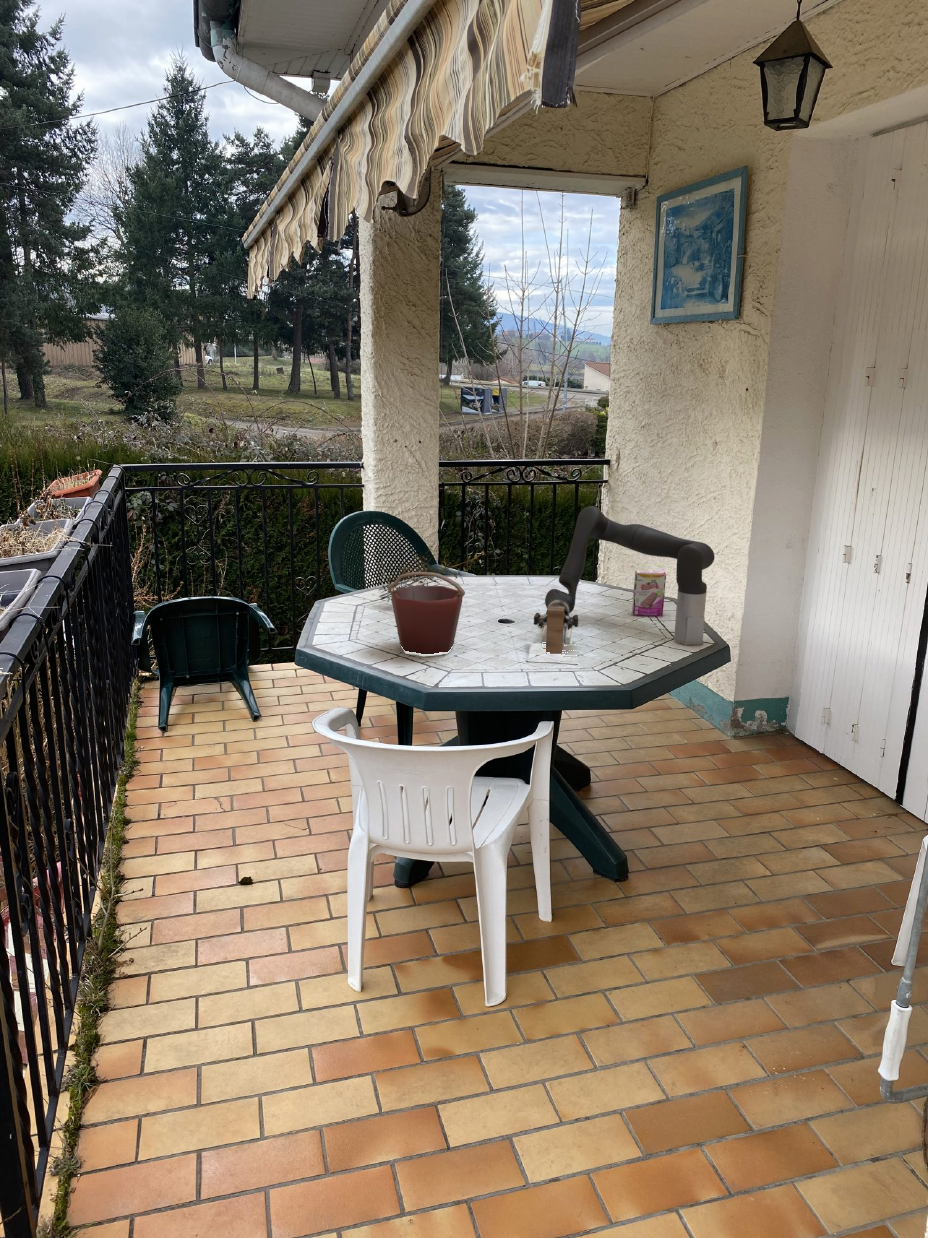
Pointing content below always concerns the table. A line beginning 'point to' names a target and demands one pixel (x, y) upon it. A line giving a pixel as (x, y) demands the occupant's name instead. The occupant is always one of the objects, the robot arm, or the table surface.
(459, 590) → the bucket
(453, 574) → the dried plant
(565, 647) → the mat
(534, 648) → the table surface
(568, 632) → the chute
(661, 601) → the candy bar box
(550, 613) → the walnut block
